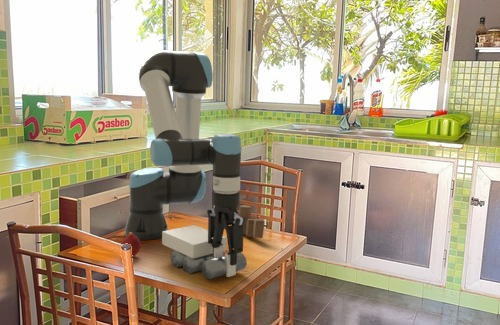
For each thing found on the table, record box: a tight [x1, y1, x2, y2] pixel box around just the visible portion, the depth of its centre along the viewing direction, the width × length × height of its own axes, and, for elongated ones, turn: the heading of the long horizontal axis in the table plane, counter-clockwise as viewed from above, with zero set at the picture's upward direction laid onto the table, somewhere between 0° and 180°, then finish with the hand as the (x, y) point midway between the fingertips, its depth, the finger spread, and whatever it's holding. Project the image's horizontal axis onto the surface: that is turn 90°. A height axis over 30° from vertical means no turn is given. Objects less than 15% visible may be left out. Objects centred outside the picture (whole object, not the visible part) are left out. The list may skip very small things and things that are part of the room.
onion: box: [121, 232, 142, 257], centre depth 149 cm, size 6×6×8 cm
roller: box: [201, 252, 247, 280], centre depth 135 cm, size 5×12×5 cm, turn 132°
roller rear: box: [169, 249, 187, 268], centre depth 146 cm, size 5×12×5 cm
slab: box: [161, 224, 227, 258], centre depth 145 cm, size 16×12×4 cm
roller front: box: [182, 250, 226, 274], centre depth 142 cm, size 5×12×5 cm
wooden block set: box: [238, 204, 265, 239], centre depth 175 cm, size 18×9×10 cm, turn 12°
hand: (224, 272), depth 135 cm, fingers closed on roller, 5 cm apart
